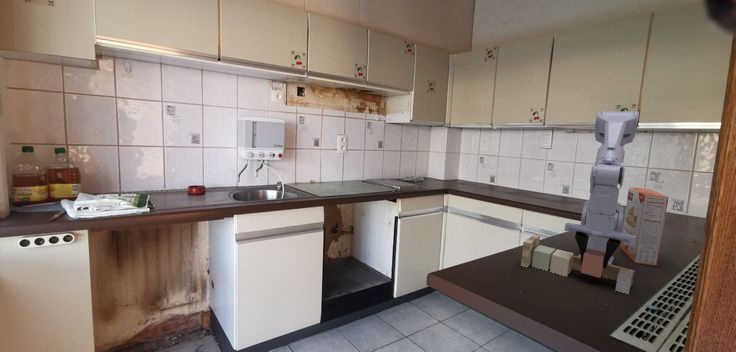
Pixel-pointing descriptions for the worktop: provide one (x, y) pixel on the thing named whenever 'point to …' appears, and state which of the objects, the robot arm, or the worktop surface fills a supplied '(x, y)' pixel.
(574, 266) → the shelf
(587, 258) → the pink rectangular block
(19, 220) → the worktop surface
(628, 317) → the worktop surface
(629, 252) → the cracker box
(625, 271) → the grey rectangular block
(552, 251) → the pale green block
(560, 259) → the cream rectangular block
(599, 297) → the worktop surface
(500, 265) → the worktop surface
